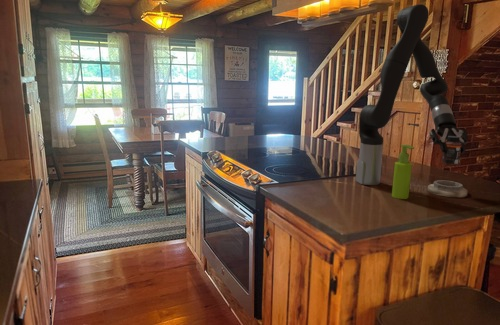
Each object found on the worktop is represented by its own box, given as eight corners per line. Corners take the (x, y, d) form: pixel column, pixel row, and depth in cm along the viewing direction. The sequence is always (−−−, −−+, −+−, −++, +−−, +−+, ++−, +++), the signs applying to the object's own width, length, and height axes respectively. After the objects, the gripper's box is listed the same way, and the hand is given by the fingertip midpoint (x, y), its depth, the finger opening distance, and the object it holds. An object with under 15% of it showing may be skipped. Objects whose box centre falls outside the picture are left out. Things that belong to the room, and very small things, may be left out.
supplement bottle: (461, 167, 142) (465, 137, 139) (444, 166, 143) (447, 137, 141) (456, 163, 148) (459, 135, 145) (439, 162, 149) (443, 135, 146)
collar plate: (442, 198, 140) (443, 189, 139) (420, 187, 153) (421, 179, 153) (475, 196, 142) (476, 187, 141) (451, 186, 155) (452, 178, 155)
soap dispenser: (400, 200, 137) (405, 147, 132) (388, 195, 143) (393, 143, 139) (413, 199, 138) (419, 146, 134) (401, 193, 145) (406, 143, 140)
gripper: (429, 112, 148) (439, 146, 139) (465, 112, 148) (478, 146, 139) (422, 123, 155) (431, 157, 146) (457, 123, 154) (468, 157, 145)
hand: (454, 152), depth 142 cm, fingers closed on supplement bottle, 6 cm apart
